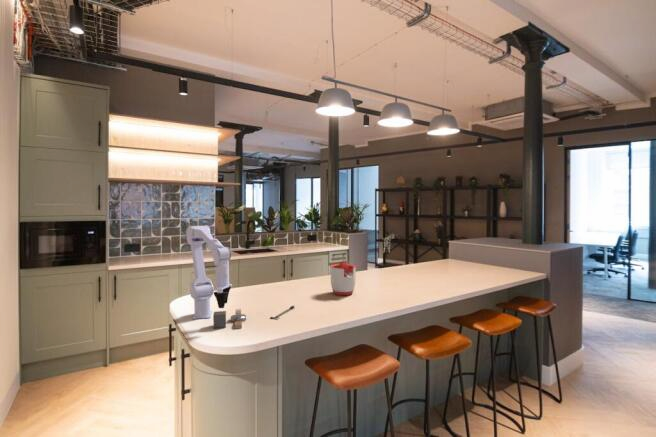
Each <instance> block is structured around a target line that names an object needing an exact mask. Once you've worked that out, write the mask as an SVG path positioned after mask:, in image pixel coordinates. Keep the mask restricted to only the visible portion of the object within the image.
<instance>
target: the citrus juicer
mask: <svg viewBox="0 0 656 437" xmlns="http://www.w3.org/2000/svg"><path fill="white" fill-rule="evenodd" d="M356 267H357V265H355V264H351V263H347V262H345V261H344V260H342V261H341V262H340V263H335V264H331V265H330V285H331V289H332V293H333V294H334V295H338V296H349V295H352V294H353V292H354V291H355V287H356Z"/></svg>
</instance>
